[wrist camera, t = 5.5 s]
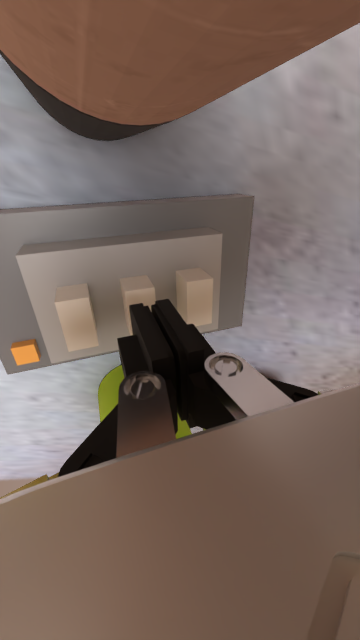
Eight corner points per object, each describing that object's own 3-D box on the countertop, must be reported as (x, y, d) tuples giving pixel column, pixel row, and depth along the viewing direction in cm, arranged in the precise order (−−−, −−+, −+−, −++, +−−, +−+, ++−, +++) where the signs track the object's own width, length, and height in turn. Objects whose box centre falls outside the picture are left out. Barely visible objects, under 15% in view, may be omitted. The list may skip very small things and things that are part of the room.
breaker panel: (237, 193, 18) (297, 202, 13) (229, 314, 22) (271, 353, 17) (-46, 212, 14) (-112, 235, 9) (13, 355, 18) (-9, 423, 13)
